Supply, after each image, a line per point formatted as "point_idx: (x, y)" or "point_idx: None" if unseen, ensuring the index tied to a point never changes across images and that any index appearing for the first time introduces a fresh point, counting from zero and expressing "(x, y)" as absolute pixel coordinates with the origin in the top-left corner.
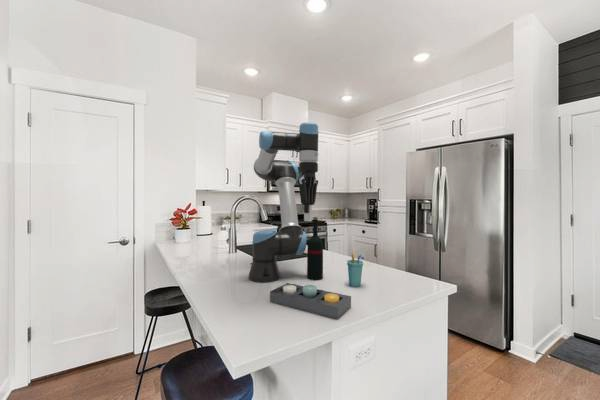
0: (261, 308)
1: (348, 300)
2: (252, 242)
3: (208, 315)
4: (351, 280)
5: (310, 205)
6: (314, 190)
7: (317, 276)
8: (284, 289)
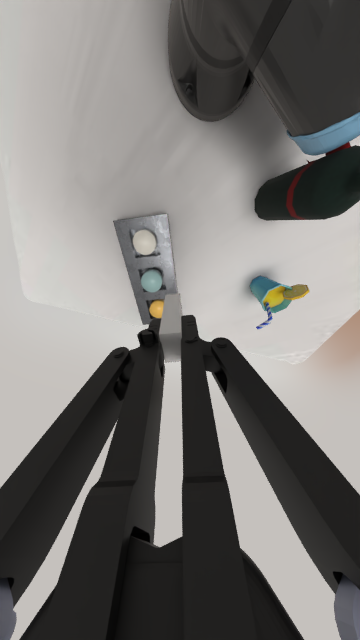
0: (95, 229)
1: None
2: None
3: (10, 177)
4: (253, 286)
5: (168, 360)
6: (257, 456)
7: (261, 215)
8: (133, 240)
